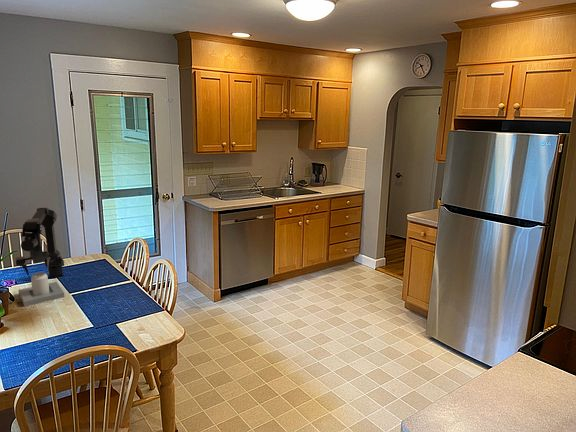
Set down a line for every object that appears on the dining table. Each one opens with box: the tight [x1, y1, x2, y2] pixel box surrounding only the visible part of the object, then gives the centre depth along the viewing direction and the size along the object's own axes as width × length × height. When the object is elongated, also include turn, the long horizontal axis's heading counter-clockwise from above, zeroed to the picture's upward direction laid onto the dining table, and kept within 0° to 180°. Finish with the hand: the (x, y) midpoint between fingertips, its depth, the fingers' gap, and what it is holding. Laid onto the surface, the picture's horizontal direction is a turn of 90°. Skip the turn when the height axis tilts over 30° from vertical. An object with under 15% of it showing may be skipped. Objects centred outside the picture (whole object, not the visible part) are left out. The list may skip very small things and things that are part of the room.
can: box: [30, 271, 49, 296], centre depth 217 cm, size 8×8×12 cm
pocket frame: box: [18, 281, 65, 307], centre depth 218 cm, size 18×18×2 cm
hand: (38, 273), depth 215 cm, fingers open, 9 cm apart
